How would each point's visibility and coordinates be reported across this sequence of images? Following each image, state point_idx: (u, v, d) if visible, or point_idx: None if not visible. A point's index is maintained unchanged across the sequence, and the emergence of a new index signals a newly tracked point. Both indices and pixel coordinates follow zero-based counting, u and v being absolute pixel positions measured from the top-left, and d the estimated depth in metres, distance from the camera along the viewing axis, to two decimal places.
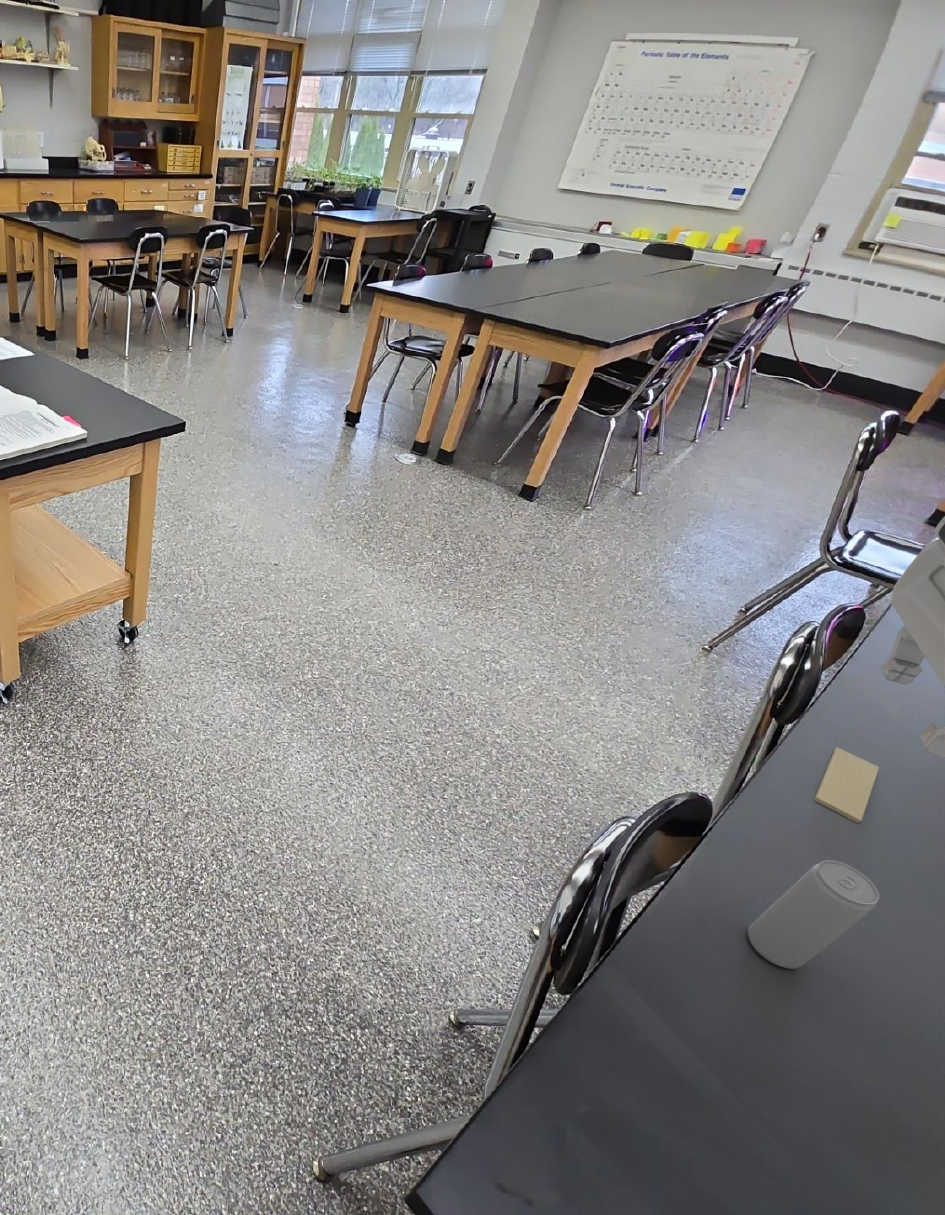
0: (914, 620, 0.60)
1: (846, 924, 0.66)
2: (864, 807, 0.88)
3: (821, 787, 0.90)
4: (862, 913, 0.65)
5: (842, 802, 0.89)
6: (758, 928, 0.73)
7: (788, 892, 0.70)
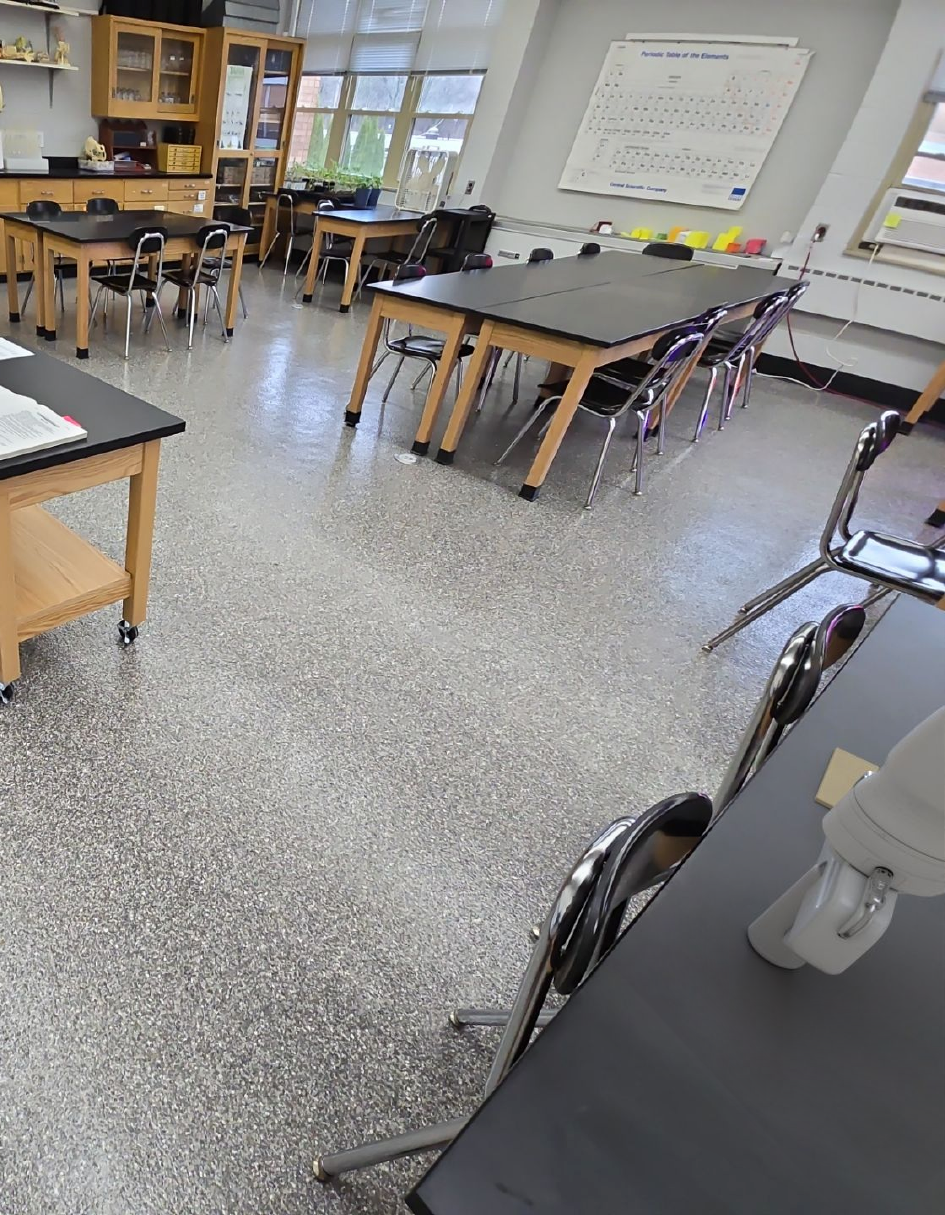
0: (823, 851, 0.71)
1: None
2: None
3: (821, 787, 0.90)
4: None
5: None
6: (758, 928, 0.73)
7: (788, 892, 0.70)
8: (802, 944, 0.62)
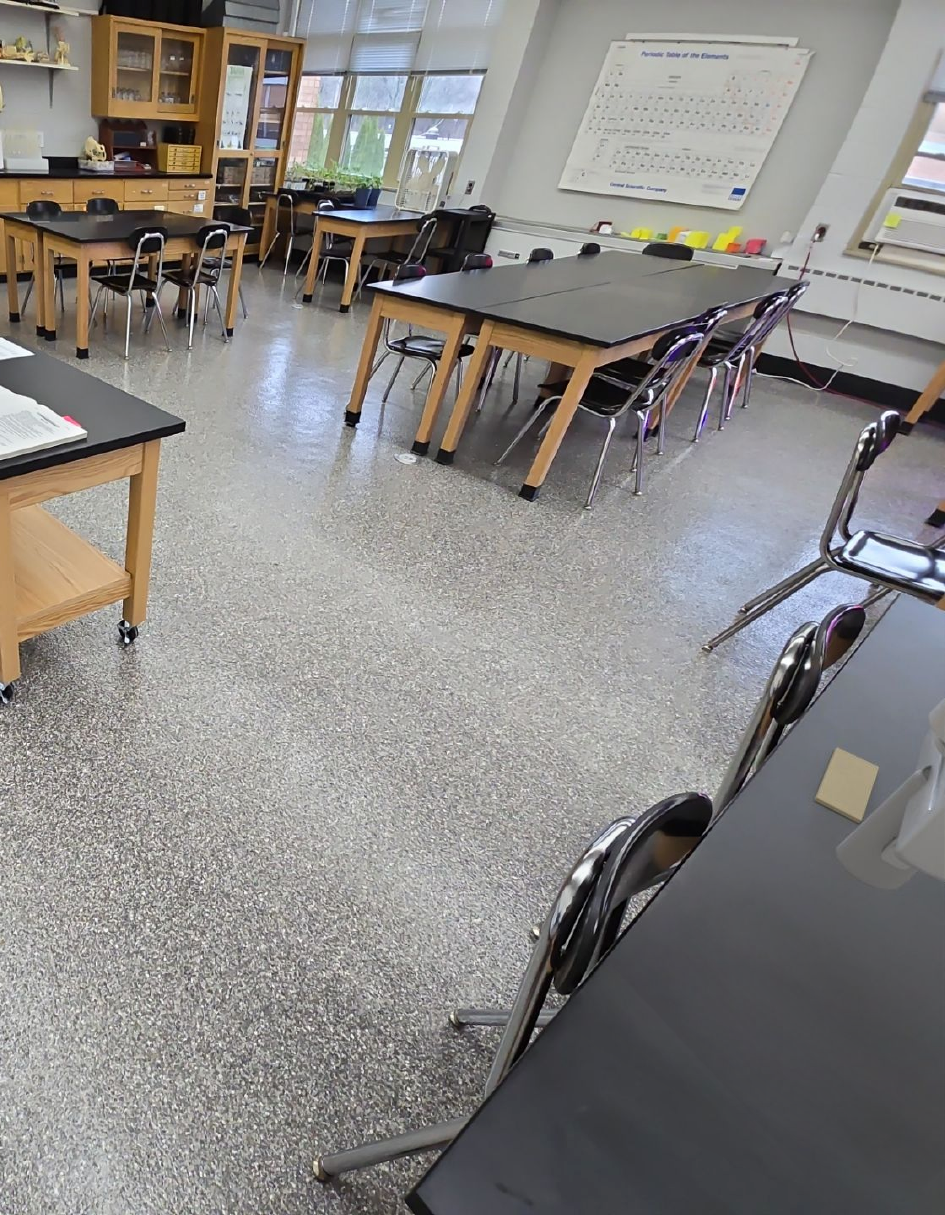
0: (922, 758, 0.64)
1: None
2: (864, 807, 0.88)
3: (821, 787, 0.90)
4: None
5: (842, 802, 0.89)
6: (849, 847, 0.66)
7: (885, 804, 0.63)
8: (915, 850, 0.55)
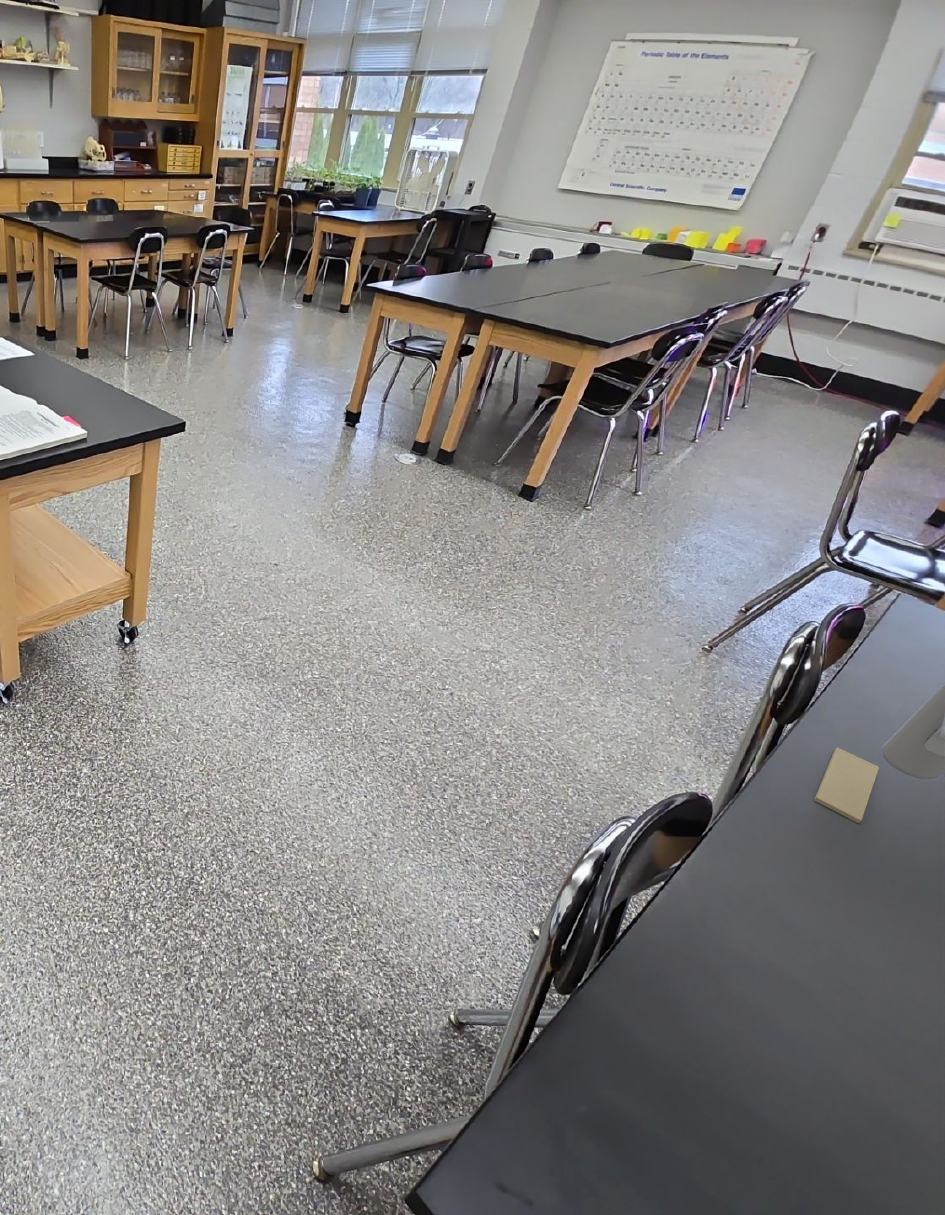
0: None
1: None
2: (864, 807, 0.88)
3: (821, 787, 0.90)
4: None
5: (842, 802, 0.89)
6: (894, 743, 0.75)
7: (928, 702, 0.73)
8: None
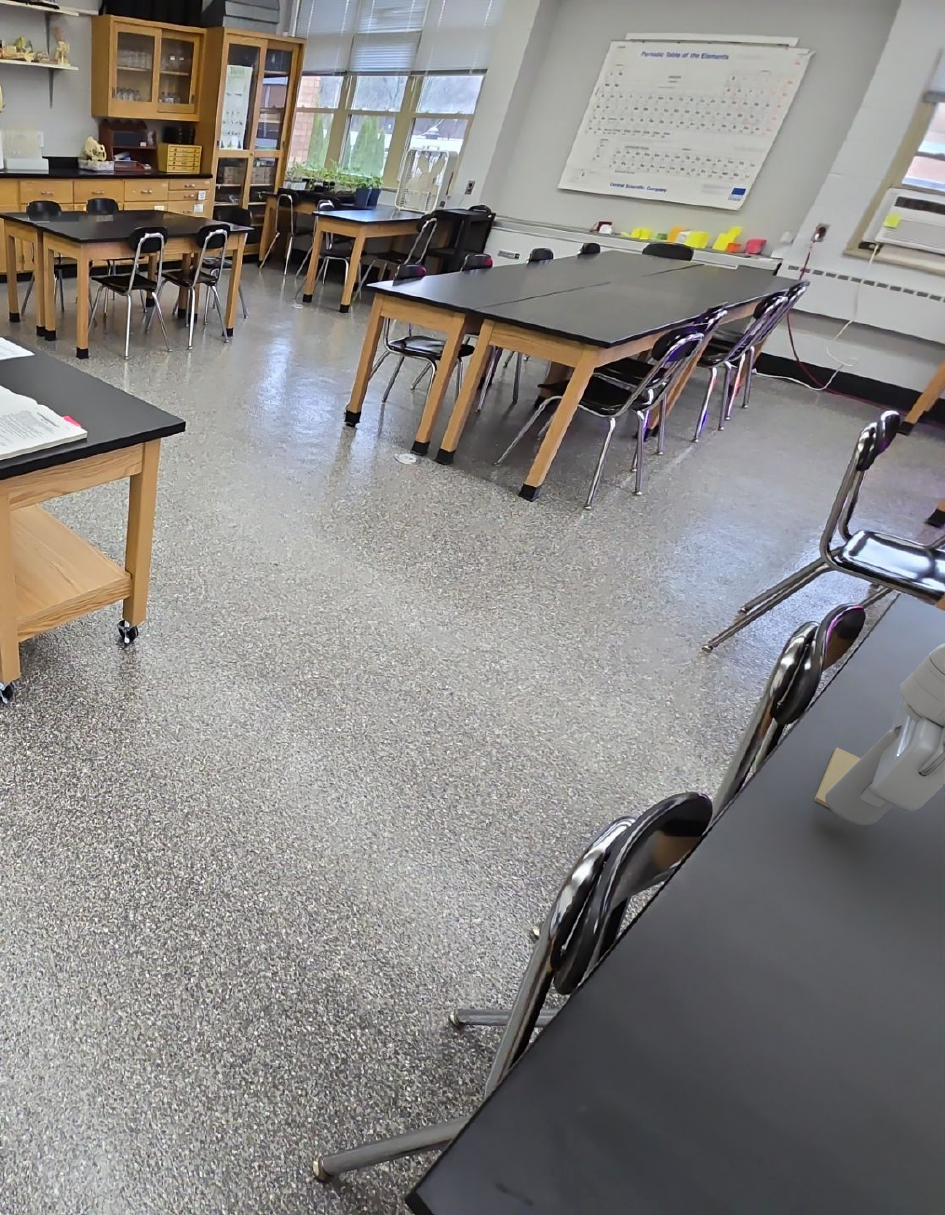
0: (894, 722, 0.81)
1: None
2: None
3: (821, 787, 0.90)
4: None
5: None
6: (836, 792, 0.83)
7: (864, 756, 0.80)
8: (886, 786, 0.72)
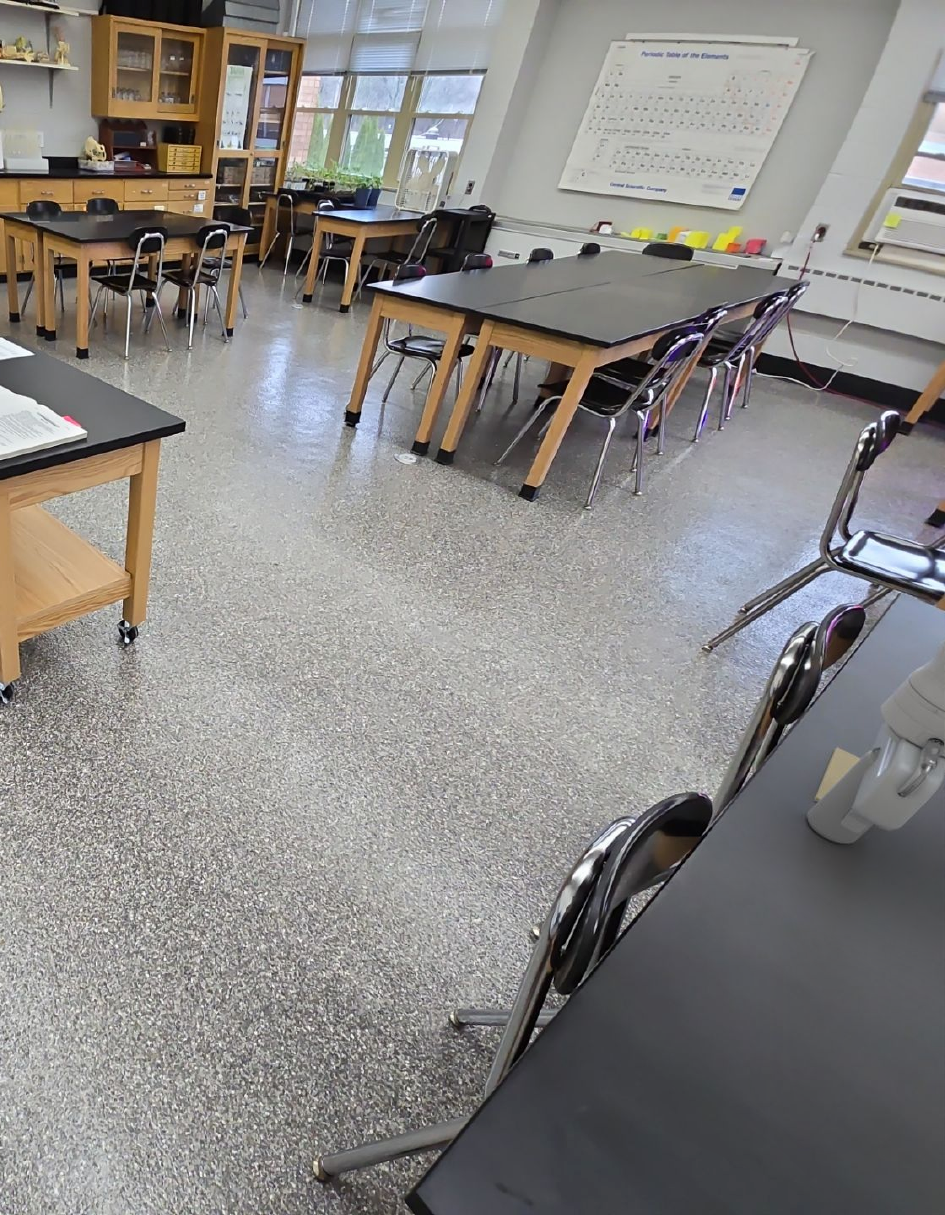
0: (877, 741, 0.83)
1: None
2: None
3: (821, 787, 0.90)
4: None
5: None
6: (817, 811, 0.85)
7: (844, 777, 0.83)
8: (866, 806, 0.74)
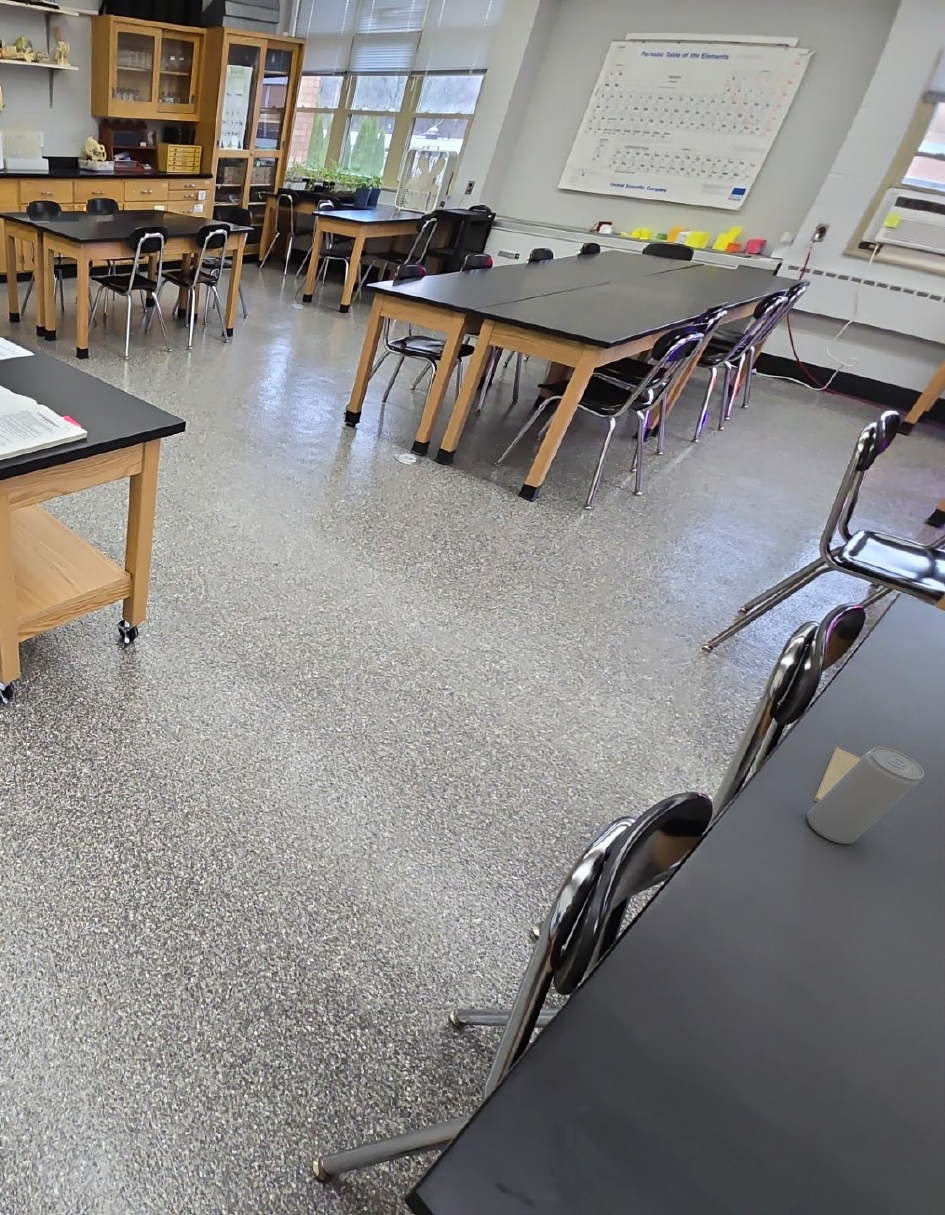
0: None
1: (896, 798, 0.79)
2: None
3: (821, 787, 0.90)
4: (910, 787, 0.78)
5: None
6: (817, 811, 0.85)
7: (844, 777, 0.83)
8: None
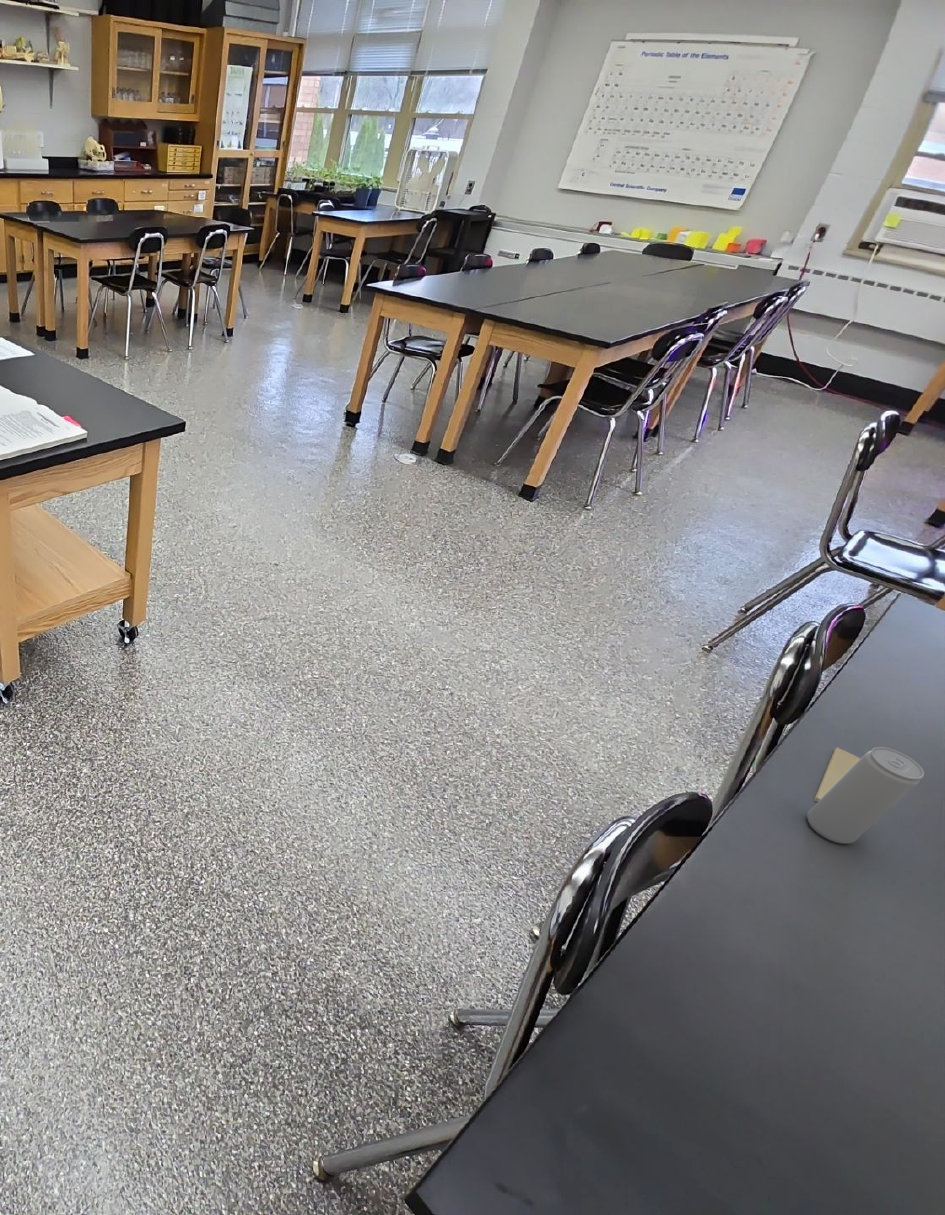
0: None
1: (896, 798, 0.79)
2: None
3: (821, 787, 0.90)
4: (910, 787, 0.78)
5: None
6: (817, 811, 0.85)
7: (844, 777, 0.83)
8: None
